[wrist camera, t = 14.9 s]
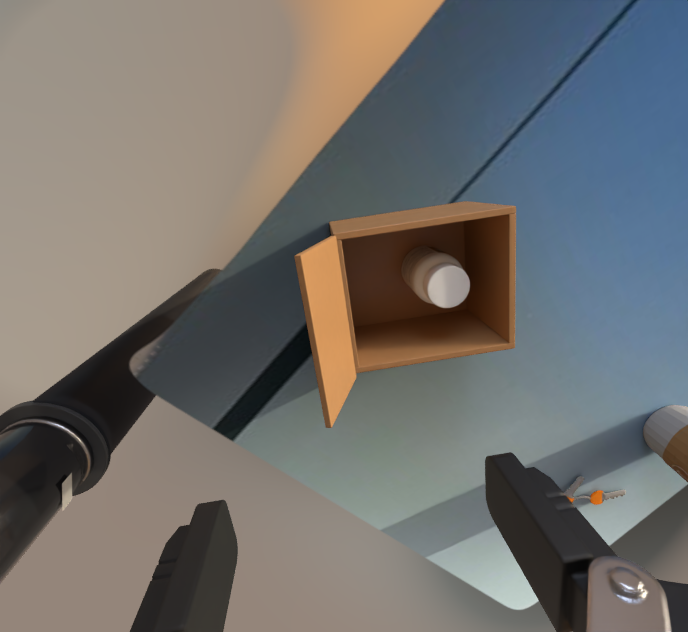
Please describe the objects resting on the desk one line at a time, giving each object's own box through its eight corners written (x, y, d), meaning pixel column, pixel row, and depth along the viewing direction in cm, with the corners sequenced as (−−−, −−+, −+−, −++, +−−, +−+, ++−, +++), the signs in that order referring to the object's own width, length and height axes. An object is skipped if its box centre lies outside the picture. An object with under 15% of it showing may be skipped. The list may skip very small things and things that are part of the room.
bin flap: (356, 377, 29) (351, 377, 29) (336, 235, 26) (330, 236, 26) (331, 428, 24) (325, 428, 24) (300, 255, 20) (293, 255, 20)
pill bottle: (453, 272, 37) (486, 293, 30) (415, 297, 38) (439, 324, 31) (430, 235, 36) (459, 247, 29) (391, 262, 37) (410, 281, 29)
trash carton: (345, 330, 39) (353, 373, 30) (328, 221, 35) (333, 233, 26) (469, 311, 39) (515, 348, 30) (466, 201, 36) (516, 206, 27)
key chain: (546, 549, 51) (550, 555, 50) (514, 521, 49) (518, 526, 48) (627, 492, 49) (632, 497, 48) (597, 460, 47) (602, 465, 46)
